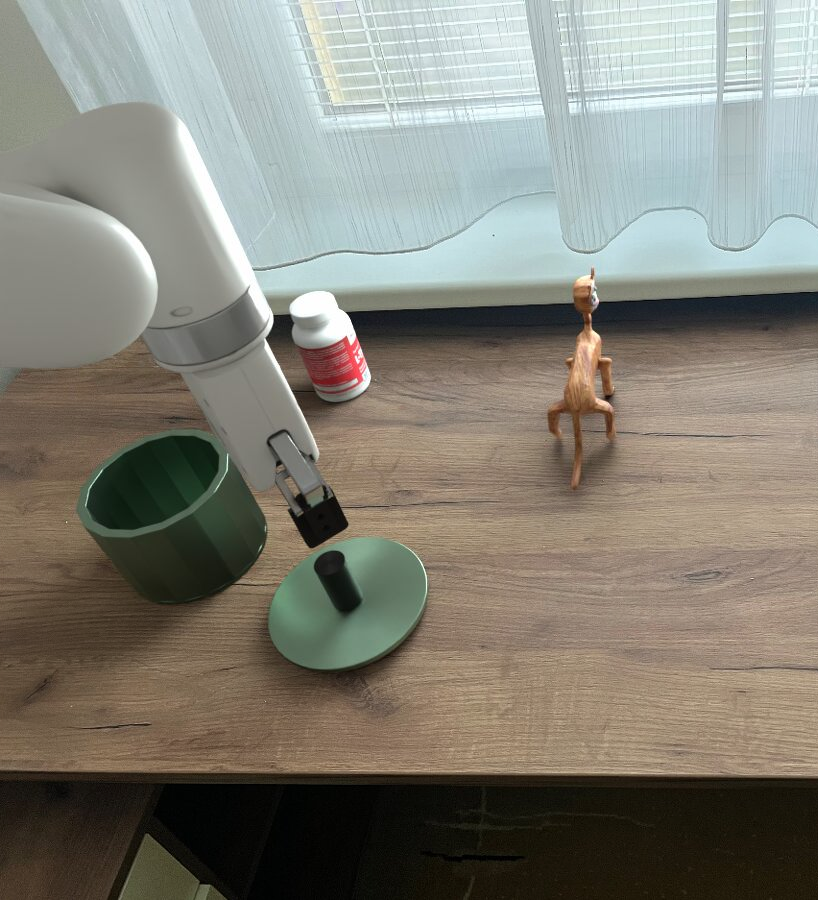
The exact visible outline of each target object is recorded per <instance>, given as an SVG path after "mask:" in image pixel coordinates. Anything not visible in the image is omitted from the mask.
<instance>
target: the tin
mask: <svg viewBox="0 0 818 900" xmlns="http://www.w3.org/2000/svg"><path fill="white" fill-rule="evenodd" d="M75 511H76V513H77V515H78V518H79V520H80V522H81V524H82V526H83V528H84V529H85V530H86V531H87V533H88V534H89V535H90V536H91V538H92V539H93V541H94V542H95V543H96V545H98V547H99V548H100V549H101V550H102V552H103V553H104V554H105V555H106V557H107V558H108V559H109V560H110V562H111V563H112V564H113V566H114V567H115V568H116V569H117V570H118V572H119V573H120V574H121V576H122V577H123V578H124V580H125V581H126V582H127V583H128V584H129V586H130V587H131V588H132V590H133V591H135V592H136V593H137V594H138V595H139V596H141V597H142V598H144V599H146V600H148V601H150V602H152V603H156V604H159V605H165V606H166V605H168V606H178V605H186V604H191V603H196V602H199V601H202V600H205V599H207V598H210V597H212V596H215V595H216V594H219V593H220V592H222V591H224V590H226V589H228V588H229V587H230V586H232V585H234V584H235V583H237V581H239V580H240V579H241V578H242V577H243V576H245V575H246V573H248V571H249V570H251V569H252V567H253V566H254V565H255V563H256V562H257V561H258V560H259V558H260V556H261V554H262V552H263V551H264V549H265V546H266V542H267V539H268V524H267V523H268V522H267V520H266V516H265V513H264V512H263V511H262V509H261V507H260V504H259V503H258V502H257V500H256V498H255V496H254V494H253V493H252V491H251V489H250V488H249V486H248V484H247V481H246V479H245V478H244V476H243V475H242V473H241V472H240V471H239V469H238V468H237V466H236V465H235V464H234V462H233V461H232V459H231V458H230V456H229V455H228V454H227V452H226V451H225V449H224V448H223V446H222V445H221V443H220V442H219V440H218V439H217V437H216V436H215V434H211V433H208V432H206V431H204V430H202V429H170V430H165V431H161V432H157V433H153V434H150V435H146V436H144V437H142V438H140V439H138V440H136V441H133V442H132V443H130V444H128V445H126V446H124V447H122V448H120V449H118V450H117V451H115V452H114V453H113V454H111V455H110V456H109V457H108V458H107V459H105V460H104V461H103V462H101V463H100V464H99V465H98V466H97V467H95V468H94V469H93V471H92V472H91V474H90V475H89V477H88V478H87V479H86V481H85V482H84V483H83V485H82V487H80V489H79V496H78V500H77V504H76V510H75Z"/></svg>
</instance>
